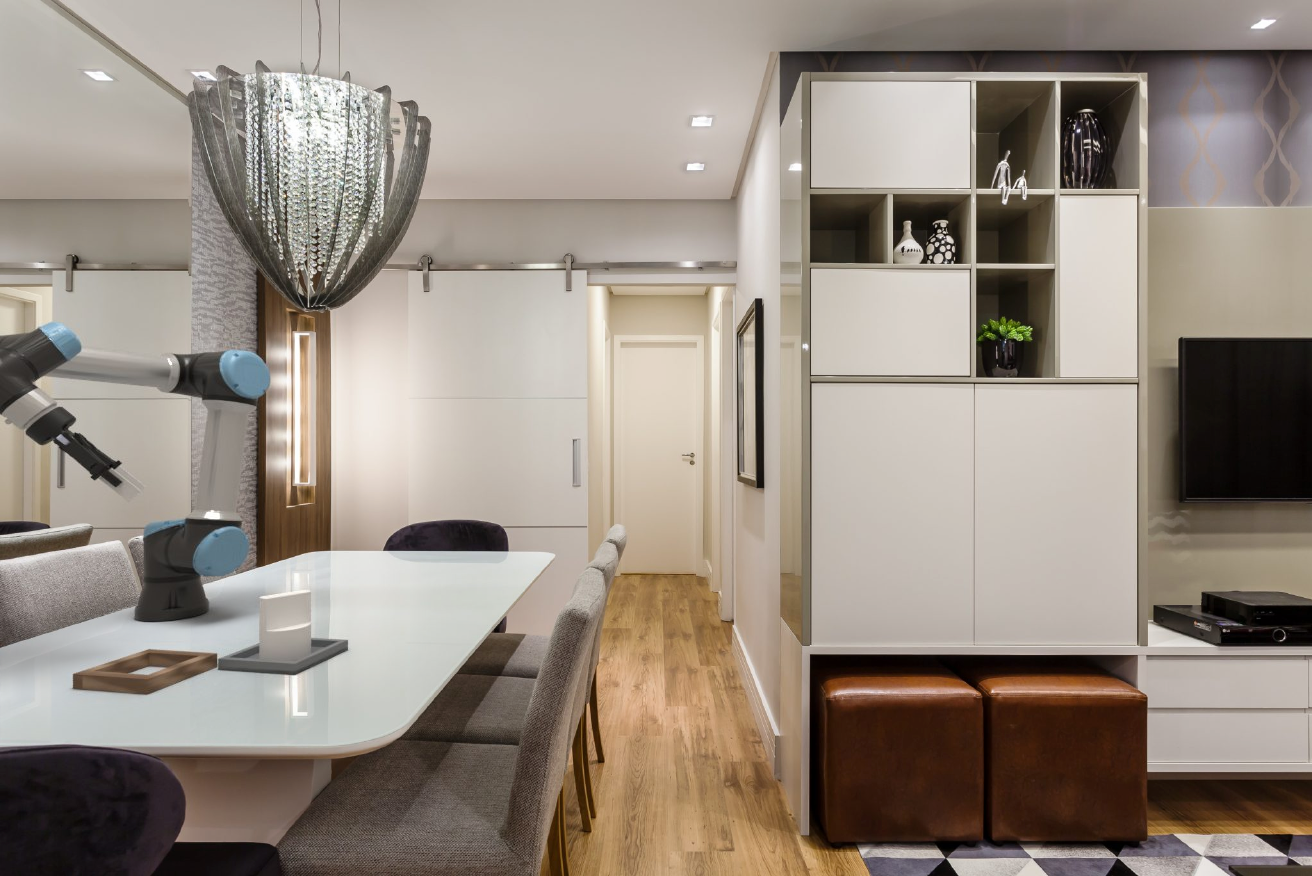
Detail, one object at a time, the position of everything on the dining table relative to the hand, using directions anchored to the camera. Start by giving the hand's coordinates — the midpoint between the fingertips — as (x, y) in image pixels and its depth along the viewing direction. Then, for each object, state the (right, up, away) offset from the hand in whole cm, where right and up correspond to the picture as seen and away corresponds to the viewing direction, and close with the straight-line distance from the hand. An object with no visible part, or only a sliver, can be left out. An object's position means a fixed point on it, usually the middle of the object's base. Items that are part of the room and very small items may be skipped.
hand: (138, 494), depth 145 cm
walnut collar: (+13, -32, -15) cm, 37 cm away
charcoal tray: (+32, -32, -5) cm, 45 cm away
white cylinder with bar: (+32, -31, -5) cm, 45 cm away
